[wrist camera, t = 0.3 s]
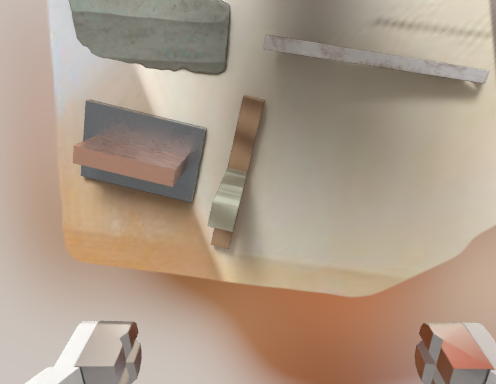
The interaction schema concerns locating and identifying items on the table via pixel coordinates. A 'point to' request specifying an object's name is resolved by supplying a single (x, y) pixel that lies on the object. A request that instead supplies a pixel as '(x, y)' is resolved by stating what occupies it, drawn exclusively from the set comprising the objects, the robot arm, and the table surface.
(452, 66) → the wrench
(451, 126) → the table surface
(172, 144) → the stand
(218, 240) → the brown t-shaped piece
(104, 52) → the stone slab
